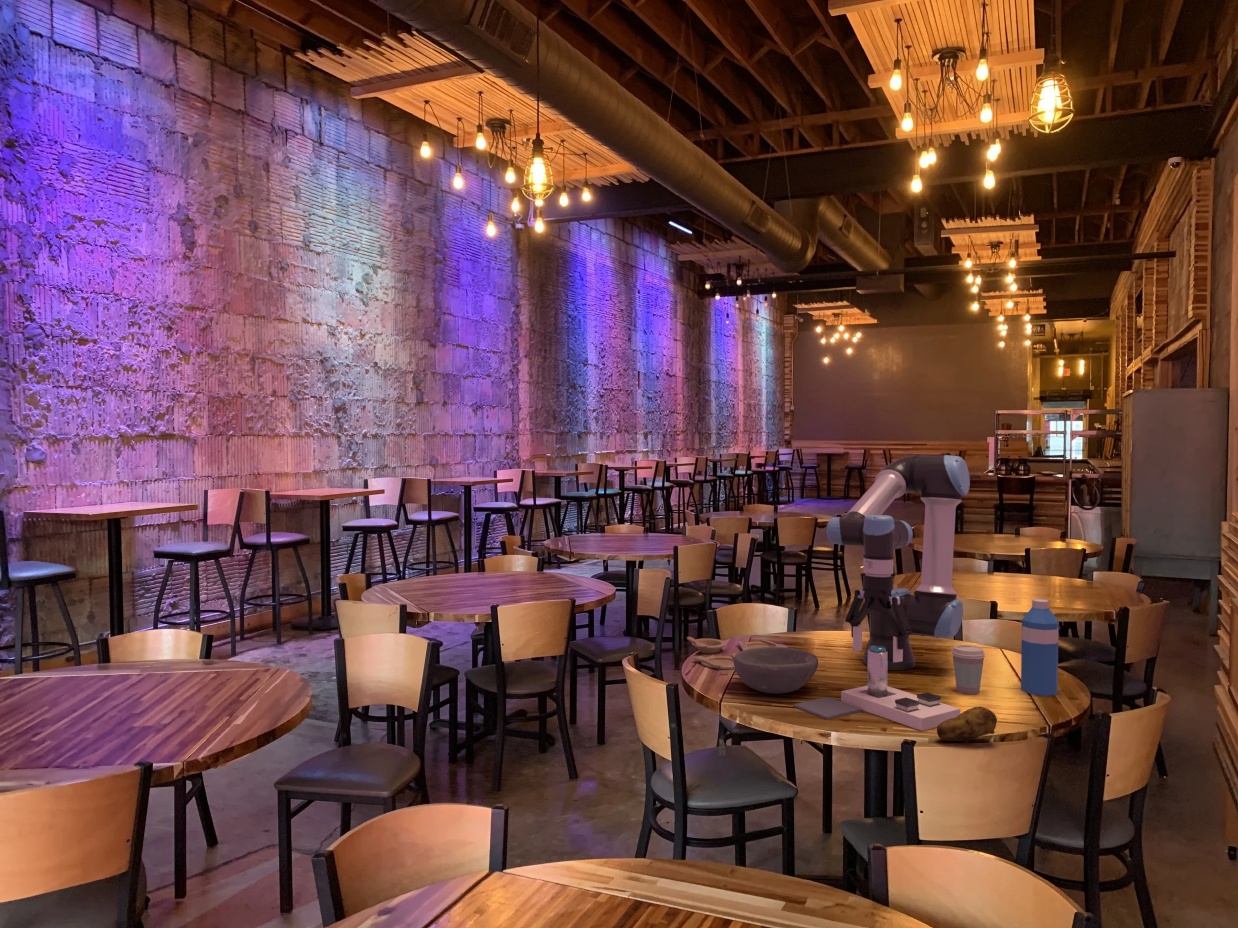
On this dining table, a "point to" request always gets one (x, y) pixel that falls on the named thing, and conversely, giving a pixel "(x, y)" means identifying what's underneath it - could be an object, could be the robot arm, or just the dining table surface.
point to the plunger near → (907, 704)
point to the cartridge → (877, 671)
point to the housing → (887, 709)
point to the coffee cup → (968, 668)
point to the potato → (968, 725)
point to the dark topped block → (928, 699)
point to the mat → (827, 708)
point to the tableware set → (716, 645)
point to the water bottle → (1039, 650)
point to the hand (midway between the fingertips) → (877, 655)
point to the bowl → (775, 668)
